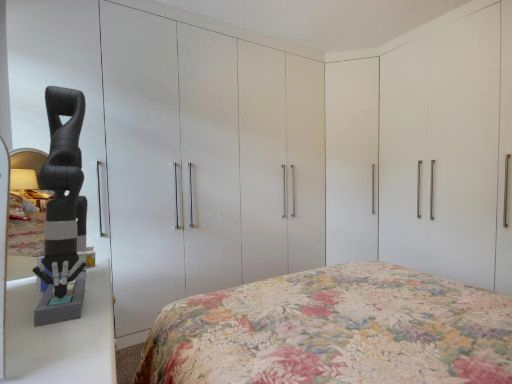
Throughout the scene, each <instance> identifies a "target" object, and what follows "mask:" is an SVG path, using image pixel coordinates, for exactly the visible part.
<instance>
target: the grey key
mask: <svg viewBox="0 0 512 384" xmlns="http://www.w3.org/2000/svg"><path fill="white" fill-rule="evenodd" d="M61 282H62V280H60V283H61ZM71 284H74V287H75V279H74V281H72V282H69V283H67V285H71Z"/></svg>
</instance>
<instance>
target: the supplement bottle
mask: <svg viewBox="0 0 512 384" xmlns="http://www.w3.org/2000/svg"><path fill="white" fill-rule="evenodd" d="M94 248H95V246H94V245H92V244H90V245H86V262H87V265H86V270H87V269H92V268H94V267H96V250H95V249H94Z"/></svg>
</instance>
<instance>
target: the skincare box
mask: <svg viewBox="0 0 512 384" xmlns="http://www.w3.org/2000/svg"><path fill="white" fill-rule="evenodd" d="M77 254H78V256H79V259H80V260H82V261H86V251H83V252H77ZM77 264H78V263H76V264H75V265H74V266H73V267H72V269H71V270H70V271H68V277H69V276H71V275H72V274H73V273H74V271H75V270H76V269H77ZM86 276H87V269H86V267H85V268H84V269H83V270H82V271H81V272H80V274H79V275H78V276H77V277H76V278H75V280H82V279H85V280H86Z"/></svg>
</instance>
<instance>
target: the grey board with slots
mask: <svg viewBox="0 0 512 384" xmlns="http://www.w3.org/2000/svg"><path fill="white" fill-rule="evenodd" d="M85 287H86V278H85V279H82V280H75V287H74V294H70V295H64V297H66V296H72V301H71V302H70V303H64V304H58V305H51V306H49V303H50V301H51V299H53V298H57V297H53V290H54V285H52V284H49V286H48V287H47V289H46V291H45V292H44V293H43V294H42V297H41V298H40V300H39V302H38V303H37V305H36V307H35V309H34V311H33V312H34V314H33V317H34V318H33V327H40V326H45V325H50V324H56V323H60V322H66V321H71V320H76V319H77V320H78V319H81V316H82V308H83V303H84V298H85V291H86V289H85Z"/></svg>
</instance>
